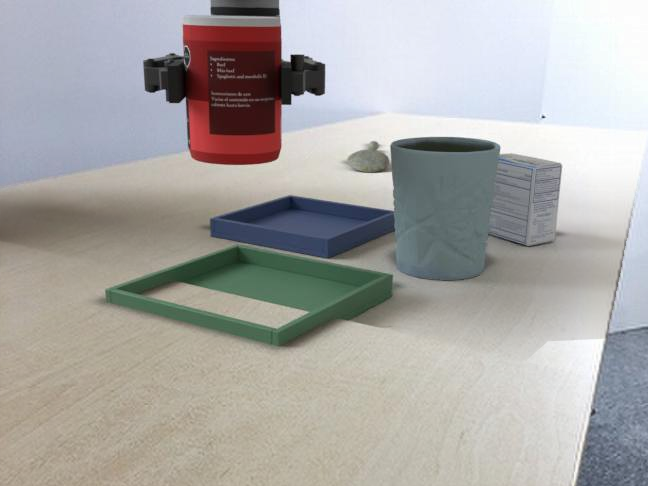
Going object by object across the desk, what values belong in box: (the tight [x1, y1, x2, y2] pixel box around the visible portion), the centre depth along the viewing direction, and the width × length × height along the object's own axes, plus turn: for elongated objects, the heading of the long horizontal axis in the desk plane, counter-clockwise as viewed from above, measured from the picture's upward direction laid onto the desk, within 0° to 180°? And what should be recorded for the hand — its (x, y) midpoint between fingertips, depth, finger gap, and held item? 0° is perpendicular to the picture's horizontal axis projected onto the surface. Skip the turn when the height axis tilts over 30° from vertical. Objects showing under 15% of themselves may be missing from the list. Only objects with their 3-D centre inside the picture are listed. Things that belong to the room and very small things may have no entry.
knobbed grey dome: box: [346, 140, 390, 173], centre depth 140 cm, size 22×3×7 cm
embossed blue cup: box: [389, 136, 501, 281], centre depth 81 cm, size 10×10×12 cm
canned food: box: [182, 14, 283, 166], centre depth 69 cm, size 8×8×11 cm
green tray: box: [104, 243, 394, 347], centre depth 72 cm, size 17×17×2 cm
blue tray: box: [209, 194, 395, 259], centre depth 95 cm, size 15×15×2 cm
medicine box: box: [488, 152, 563, 247], centre depth 94 cm, size 8×4×9 cm, turn 34°
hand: (230, 85), depth 64 cm, fingers closed on canned food, 8 cm apart
